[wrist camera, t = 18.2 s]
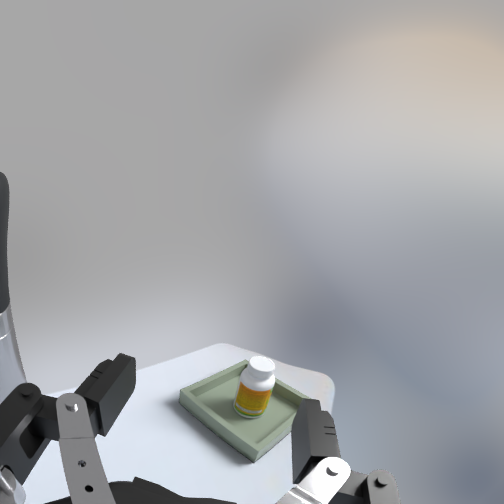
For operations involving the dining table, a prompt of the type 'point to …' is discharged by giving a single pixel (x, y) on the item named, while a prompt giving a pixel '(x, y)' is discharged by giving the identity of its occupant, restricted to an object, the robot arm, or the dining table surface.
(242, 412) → the supplement bottle
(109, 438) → the dining table surface
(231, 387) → the tray
